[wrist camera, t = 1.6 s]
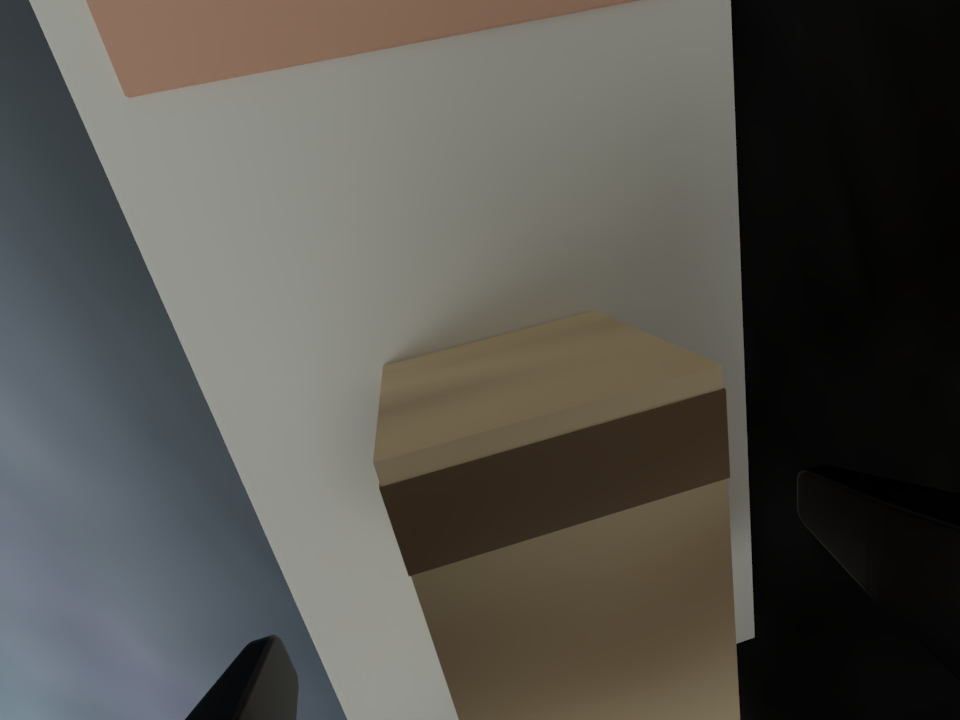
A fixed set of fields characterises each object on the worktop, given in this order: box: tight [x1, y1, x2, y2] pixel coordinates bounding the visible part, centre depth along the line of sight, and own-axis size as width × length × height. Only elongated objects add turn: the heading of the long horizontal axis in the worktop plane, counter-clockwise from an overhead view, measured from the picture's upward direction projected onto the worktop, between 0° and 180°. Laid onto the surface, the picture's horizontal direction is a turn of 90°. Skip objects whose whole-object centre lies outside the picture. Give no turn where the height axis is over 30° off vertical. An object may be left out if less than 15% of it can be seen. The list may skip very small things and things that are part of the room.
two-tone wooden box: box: [373, 310, 740, 720], centre depth 8 cm, size 7×4×4 cm, turn 12°
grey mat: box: [29, 0, 755, 720], centre depth 8 cm, size 22×10×1 cm, turn 12°
